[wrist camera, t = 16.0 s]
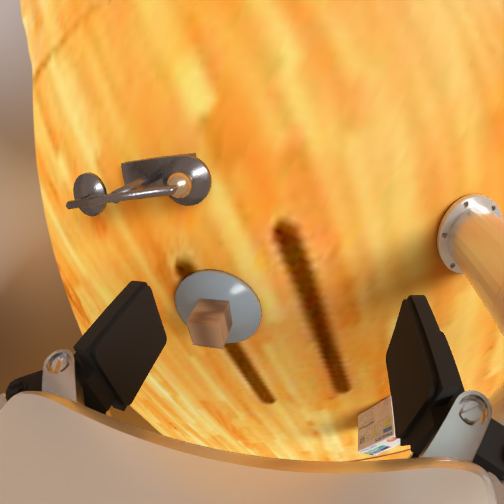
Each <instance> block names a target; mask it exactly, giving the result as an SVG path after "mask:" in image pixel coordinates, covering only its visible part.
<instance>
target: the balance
mask: <svg viewBox="0 0 504 504" xmlns="http://www.w3.org/2000/svg"><path fill="white" fill-rule="evenodd" d="M121 166H122V172H123V177H124V183H125V186H123V187H121V188H119V189H117V190H115V191H113V192H112V193H111V194H107V192H106V188H105V186H104V184H103V182H102V181H101V179H100V178H99V177H98V176H97V175H95V174H93V173H84V174H82V175H80V176H79V177H78V178H77V179H76V181H75V183H74V189H73V192H74V198H75V200H73V201H68V202H67V204H66V207H67V208H68V209H74V208H79V209H80V210H81V211H82V212H83V213H85V214H86V215H88V216H96V215H98V214H100V213H101V212H103V210H104V209H105V207H106V204H107V203H111V202H113V203H118V202H120V201H126V200H133V199H141V198H149V197H157V196H166V195H169V196H170V198H171V199H172V200H174V201H175V202H177V203H179V204H181V205H186V206H190V205H195V204H198V203H199V202H201V201H202V200H203V199H204V198H205V197H206V196H207V195H208V193H209V191H210V188H211V175H210V172H209V170H208V168H207V166H206V165H205V164H204V163H203V162H202V161H201V160H200V159H198V158H196V153H190V154H181V155H172V156H164V157H156V158H149V159H142V160H136V161H129V162H124V163H121Z"/></svg>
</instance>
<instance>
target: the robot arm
mask: <svg viewBox="0 0 504 504" xmlns="http://www.w3.org/2000/svg"><path fill="white" fill-rule="evenodd" d="M437 247H438V252H439V255H440V257H441V259H442V261H443V262H444V264H445V265H446V266H447V267H448V268H449V269H450V270H451V271H453V272H455V273H459V274H464V275H465V276H466V278H467V279H468V281H469V282H470V284H471V285H472V286H473V288H474V289H475V291H476V293H477V294H478V296H479V297H480V299H481V300H482V302H483V303H484V305H485V307H486V308H487V310H488V312H489V313H490V315H491V317H492V318H493V320H494V322H495V323H496V325H497V327H498V329H499V330H500V332H501V333H502V334H503V335H504V221H503V217H502V214H501V211H500V209H499V207H498V206H497V204H496V203H495V202H494V201H493V200H491V199H490V198H488V197H487V196H484V195H482V194H469V195H467V196H464V197H462V198H460V199H459V200H457V201H456V202H455V203H454V204H453V205H452V206H451V207H450V208H449V209H448V211H447V212H446V214H445V215H444V217H443V219H442V221H441V224H440V226H439V230H438V235H437ZM166 340H167V337H166V333H165V330H164V327H163V324H162V322H161V319H160V315H159V312H158V309H157V306H156V303H155V300H154V297H153V293H152V290H151V288H150V286H148V285H147V283H146V282H141V281H131V282H130V283H129V284H128V285H127V286H126V287H125V288H124V289H123V291H122V292H121V293H120V294H119V295H118V296H117V297H116V298H115V299H114V300H113V302H112V303H111V304H110V305H109V306H108V307H107V308H106V309H105V311H104V312H103V313H102V314H101V315H100V316H99V317H98V319H97V320H96V321H95V322H94V323H93V324H92V325H91V327H90V328H89V329H88V330H87V331H86V333H85V334H84V335H83V336H82V337H81V338H80V340H79V341H78V342H77V343H76V345H75V346H74V349H75V351H76V353H75V354H74V355H73V353H72V352H71V351H69V350H66V349H62V350H58V351H56V352H53V353H52V354H51V355H49V356H48V358H47V359H46V360H45V362H44V366H43V370H41V371H38V372H35V373H32V374H30V375H27V376H24V377H20V378H18V379H15V380H14V381H12V382H11V383H10V384H9V386H8V388H7V390H6V395H5V394H4V393H3V394H1V395H0V504H504V383H503V384H502V385H501V386H500V387H499V388H498V389H497V390H496V391H495V392H494V393H493V394H492V395H491V396H490V397H489V398H488V399H487V397H486V396H484V395H483V394H482V393H480V392H477V391H470V390H469V391H466V392H465V391H464V388H463V384H462V381H461V378H460V375H459V372H458V369H457V366H456V364H455V361H454V358H453V355H452V353H451V350H450V347H449V345H448V342H447V340H446V337H445V335H444V333H443V332H441V331H440V329H439V327H438V324H437V322H436V320H435V317H434V315H433V313H432V310H431V308H430V306H429V304H428V301H427V299H426V297H425V296H424V295H409V296H408V298H407V299H404V300H403V302H402V305H401V309H400V312H399V316H398V319H397V323H396V326H395V329H394V332H393V335H392V338H391V341H390V344H389V347H388V350H387V354H386V364H387V371H388V377H389V384H390V391H391V399H392V407H393V416H394V426H395V436H396V438H397V439H399V438H400V445H401V446H405V445H410V446H411V451H412V454H411V455H410V457H409V458H408V459H393V460H379V461H355V462H324V461H301V460H288V459H277V458H268V457H260V456H253V455H246V454H240V453H234V452H229V451H224V450H218V449H214V448H209V447H205V446H200V445H196V444H192V443H188V442H184V441H181V440H177V439H173V438H170V437H167V436H163V435H160V434H157V433H153V432H150V431H147V430H144V429H141V428H139V427H135V426H133V425H130V424H127V423H125V422H122V421H120V420H117V419H114V418H112V417H111V414H110V410H109V409H110V407H111V405H112V406H113V407H114V408H117V409H119V410H122V411H124V410H125V408H126V407H127V405H130V404H131V403H132V401H133V400H134V398H135V396H136V394H137V393H138V391H139V389H140V387H141V386H142V384H143V382H144V380H145V379H146V377H147V375H148V373H149V372H150V370H151V368H152V366H153V365H154V363H155V361H156V360H157V358H158V356H159V354H160V353H161V351H162V349H163V348H164V346H165V344H166Z"/></svg>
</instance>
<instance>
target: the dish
mask: <svg viewBox="0 0 504 504" xmlns="http://www.w3.org/2000/svg"><path fill="white" fill-rule="evenodd" d="M200 298H203V299H214V300H227V301H229V304H230V311H231V317H232V327H231V329H230V332H229V334H228V337H227V340H226V342H225V343H236V342H240V341H243V340H246V339H247V338H249V337H251V336H252V335H253V334H254V333H255V332H256V330H257V329H258V327H259V324H260V320H261V316H262V309H261V304H260V301H259V299H258V297H257V295H256V294H255V292H254V291H253V290H252V289H251V287H250V286H248V285H247V284H246V283H245V282H244V281H242V280H241V279H239V278H238V277H236V276H234V275H232V274H230V273H227V272H224V271H220V270H213V269H206V270H199V271H196V272H193V273H191V274H190V275H188V276H187V277H186V278H184V280H183V281H182V282H181V284H180V285H179V286H178V288H177V290H176V294H175V305H176V309H177V311H178V314H179V316H180V317H181V319H182V320H183V321H184V323H185V324H186V325H187V320H188V318H189V317H190V315H191V313H192V311H193V310H194V308H195V306H196V304H197V303H198V301H199V299H200ZM187 326H188V325H187Z"/></svg>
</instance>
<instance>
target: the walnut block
mask: <svg viewBox="0 0 504 504" xmlns="http://www.w3.org/2000/svg"><path fill="white" fill-rule="evenodd" d="M187 325H188V329H189V332H190V336H191V339H192V343H193V345H197V346H204V347H211V348H219V349H223V347H224V345H225V342H226V340H227V337H228V334H229V332H230V329H231V327H232V317H231V311H230V304H229V301H227V300H214V299H203V298H200V299H199V301H198V303H197V304H196V306H195V308H194V310H193V311H192V313H191V315H190V317H189V318H188V320H187Z"/></svg>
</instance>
